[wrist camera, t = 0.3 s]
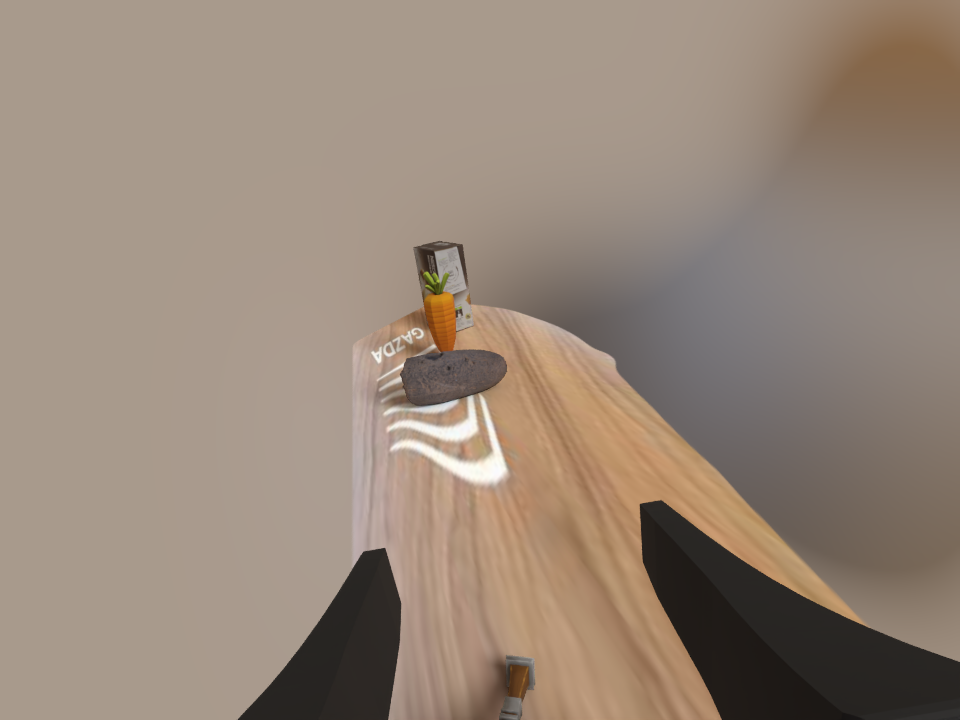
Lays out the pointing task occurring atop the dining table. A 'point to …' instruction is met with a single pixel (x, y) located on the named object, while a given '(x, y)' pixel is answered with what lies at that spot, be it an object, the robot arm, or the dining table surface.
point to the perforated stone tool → (451, 375)
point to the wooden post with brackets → (517, 685)
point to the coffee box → (451, 261)
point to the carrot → (440, 312)
